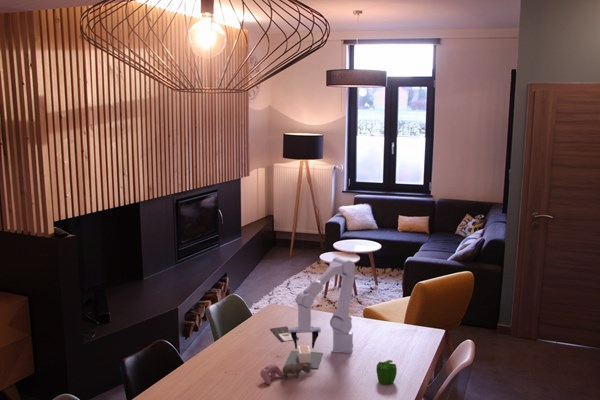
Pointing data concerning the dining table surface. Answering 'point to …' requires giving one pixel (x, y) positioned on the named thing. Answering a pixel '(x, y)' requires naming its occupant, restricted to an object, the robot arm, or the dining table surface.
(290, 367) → the rhino figurine
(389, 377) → the bell pepper
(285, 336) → the chocolate bar
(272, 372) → the pink gorilla figurine
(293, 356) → the charcoal mat
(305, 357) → the card deck
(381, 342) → the dining table surface
